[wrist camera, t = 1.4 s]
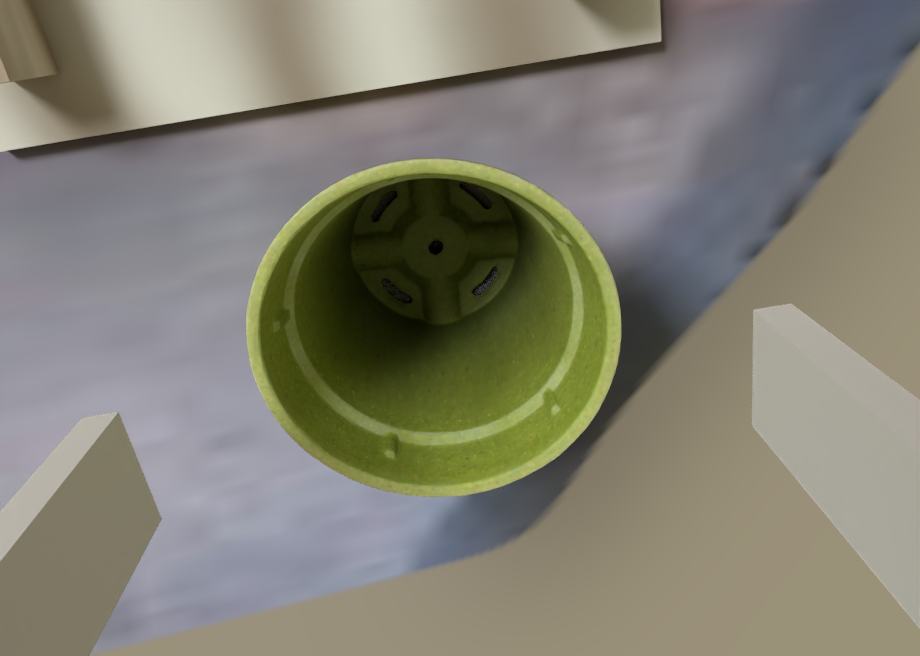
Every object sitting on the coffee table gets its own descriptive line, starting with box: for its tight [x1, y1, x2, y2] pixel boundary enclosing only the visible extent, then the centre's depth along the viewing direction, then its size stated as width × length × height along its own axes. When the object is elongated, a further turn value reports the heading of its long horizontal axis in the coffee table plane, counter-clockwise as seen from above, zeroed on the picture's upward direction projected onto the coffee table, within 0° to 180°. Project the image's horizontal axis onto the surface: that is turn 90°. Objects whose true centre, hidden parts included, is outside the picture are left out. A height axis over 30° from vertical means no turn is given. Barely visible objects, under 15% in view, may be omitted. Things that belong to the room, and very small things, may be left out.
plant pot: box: [246, 158, 621, 497], centre depth 22 cm, size 9×9×9 cm
